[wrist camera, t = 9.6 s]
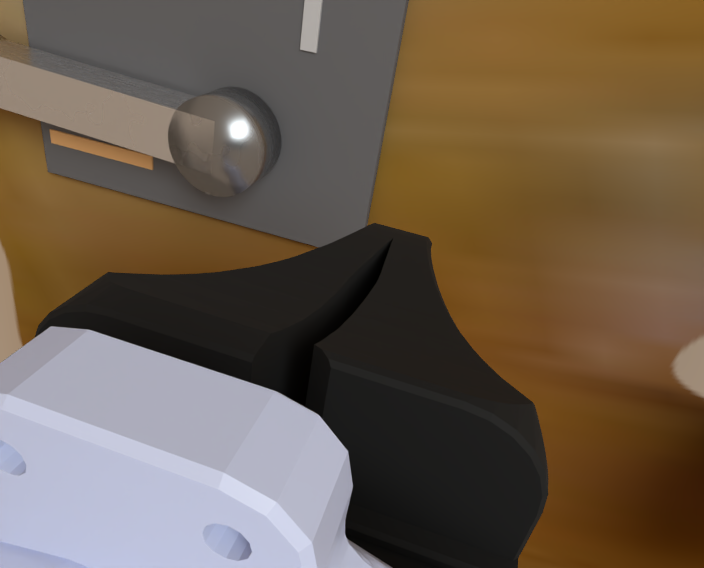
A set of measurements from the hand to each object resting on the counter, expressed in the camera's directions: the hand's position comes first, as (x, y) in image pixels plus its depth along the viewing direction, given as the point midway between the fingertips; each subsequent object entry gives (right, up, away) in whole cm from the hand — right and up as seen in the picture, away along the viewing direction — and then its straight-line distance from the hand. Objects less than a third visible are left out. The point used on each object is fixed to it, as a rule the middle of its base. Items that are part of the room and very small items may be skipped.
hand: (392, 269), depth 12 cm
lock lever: (-10, +7, +10) cm, 16 cm away
